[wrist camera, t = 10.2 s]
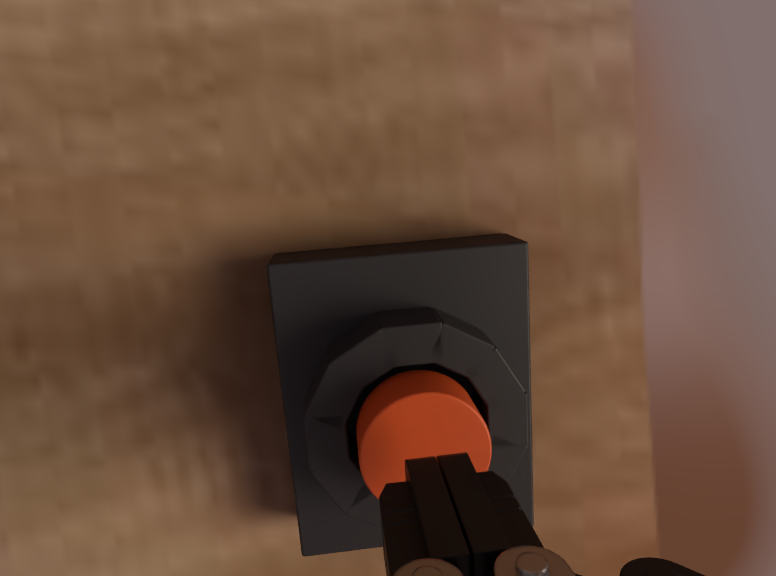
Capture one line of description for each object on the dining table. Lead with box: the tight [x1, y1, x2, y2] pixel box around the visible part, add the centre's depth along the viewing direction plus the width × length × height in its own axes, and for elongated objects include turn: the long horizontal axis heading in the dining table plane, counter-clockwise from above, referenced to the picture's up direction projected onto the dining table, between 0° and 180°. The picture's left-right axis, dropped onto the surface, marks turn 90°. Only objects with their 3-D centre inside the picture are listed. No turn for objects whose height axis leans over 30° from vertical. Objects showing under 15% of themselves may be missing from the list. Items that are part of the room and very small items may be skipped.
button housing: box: [267, 234, 534, 556], centre depth 18 cm, size 8×10×4 cm
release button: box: [356, 370, 492, 499], centre depth 16 cm, size 4×4×2 cm
